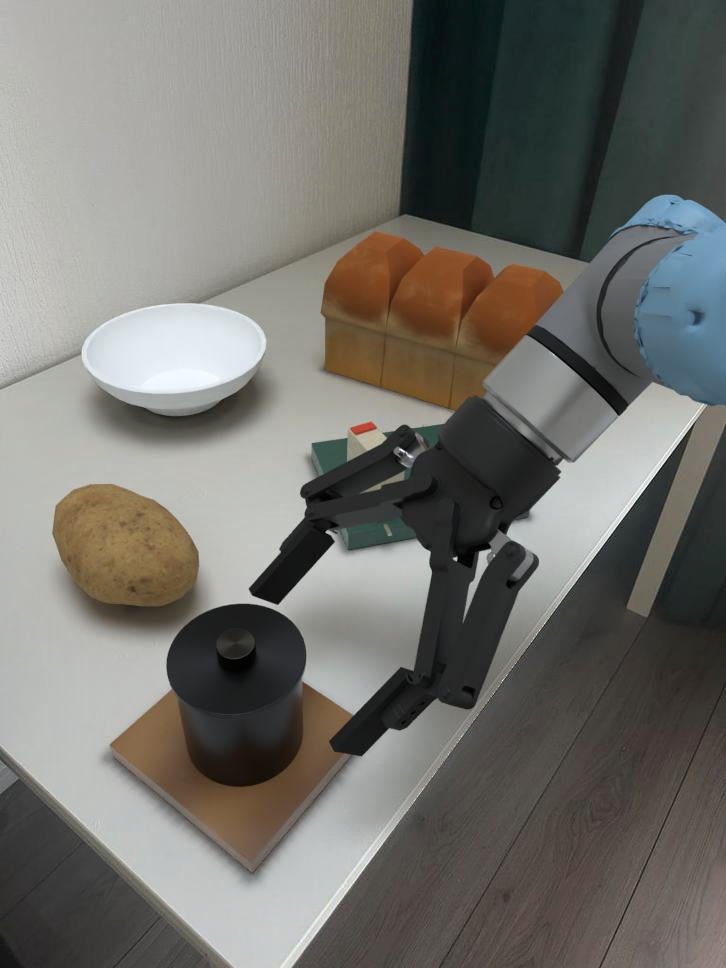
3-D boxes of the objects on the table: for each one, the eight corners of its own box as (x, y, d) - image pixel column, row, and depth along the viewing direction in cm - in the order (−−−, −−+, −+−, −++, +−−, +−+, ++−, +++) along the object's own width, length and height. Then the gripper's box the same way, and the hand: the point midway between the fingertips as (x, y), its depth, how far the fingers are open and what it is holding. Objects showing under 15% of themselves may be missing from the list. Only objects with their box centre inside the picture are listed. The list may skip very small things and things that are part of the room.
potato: (144, 663, 59) (128, 592, 54) (37, 577, 66) (13, 506, 61) (236, 592, 65) (229, 522, 60) (130, 519, 72) (115, 450, 67)
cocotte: (333, 728, 54) (335, 638, 48) (242, 817, 49) (231, 730, 43) (247, 661, 58) (239, 571, 52) (155, 737, 53) (134, 647, 47)
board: (367, 736, 55) (368, 724, 54) (252, 873, 48) (251, 862, 47) (234, 647, 61) (232, 634, 60) (112, 756, 53) (108, 744, 52)
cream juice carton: (401, 513, 71) (406, 455, 66) (377, 522, 70) (381, 463, 65) (368, 477, 75) (371, 419, 70) (346, 484, 74) (347, 426, 69)
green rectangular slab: (533, 524, 73) (537, 507, 72) (334, 561, 68) (334, 544, 67) (471, 434, 84) (474, 417, 83) (296, 460, 80) (295, 443, 78)
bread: (320, 369, 93) (320, 252, 84) (367, 327, 102) (372, 216, 93) (517, 431, 85) (542, 308, 76) (550, 379, 94) (576, 263, 84)
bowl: (184, 337, 98) (178, 287, 94) (303, 390, 90) (303, 337, 85) (55, 404, 86) (41, 350, 81) (180, 472, 77) (172, 416, 73)
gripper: (689, 580, 42) (426, 833, 46) (446, 362, 59) (269, 561, 63) (641, 537, 36) (348, 828, 40) (389, 310, 53) (200, 532, 57)
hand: (300, 666), depth 52 cm, fingers open, 13 cm apart
